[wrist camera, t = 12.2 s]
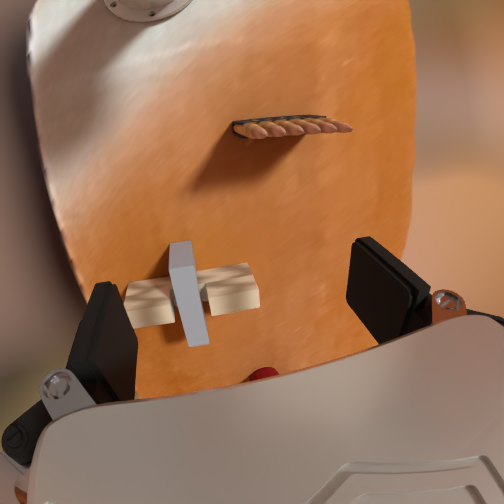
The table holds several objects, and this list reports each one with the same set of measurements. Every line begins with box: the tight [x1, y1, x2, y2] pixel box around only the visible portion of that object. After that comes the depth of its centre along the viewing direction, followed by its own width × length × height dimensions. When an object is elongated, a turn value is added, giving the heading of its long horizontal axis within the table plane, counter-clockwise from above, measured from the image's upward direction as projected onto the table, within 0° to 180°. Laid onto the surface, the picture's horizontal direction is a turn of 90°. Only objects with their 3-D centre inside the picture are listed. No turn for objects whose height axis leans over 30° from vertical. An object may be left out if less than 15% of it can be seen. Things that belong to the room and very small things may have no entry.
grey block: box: [169, 240, 210, 347], centre depth 40 cm, size 13×3×7 cm, turn 3°
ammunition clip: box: [232, 115, 353, 139], centre depth 30 cm, size 11×2×12 cm, turn 96°
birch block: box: [124, 263, 260, 329], centre depth 40 cm, size 18×3×7 cm, turn 94°
